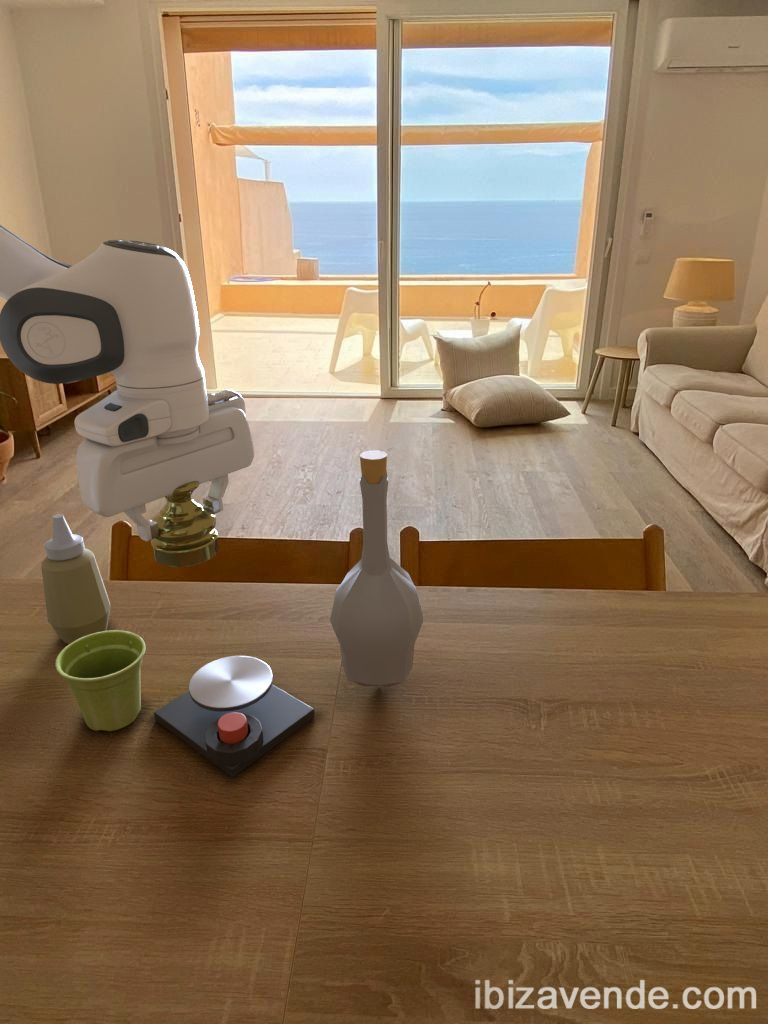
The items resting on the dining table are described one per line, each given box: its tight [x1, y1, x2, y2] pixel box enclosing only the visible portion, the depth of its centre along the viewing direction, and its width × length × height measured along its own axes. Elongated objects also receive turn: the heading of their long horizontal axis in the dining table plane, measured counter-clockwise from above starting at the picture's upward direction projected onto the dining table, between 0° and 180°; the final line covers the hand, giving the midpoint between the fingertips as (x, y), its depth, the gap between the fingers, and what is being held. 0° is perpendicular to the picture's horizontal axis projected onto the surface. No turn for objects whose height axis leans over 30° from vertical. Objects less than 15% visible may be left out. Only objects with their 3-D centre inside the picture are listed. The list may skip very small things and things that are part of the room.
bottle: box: [329, 449, 424, 688], centre depth 79 cm, size 11×11×30 cm
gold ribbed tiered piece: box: [150, 481, 220, 568], centre depth 78 cm, size 7×7×10 cm
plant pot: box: [54, 629, 147, 732], centre depth 79 cm, size 9×9×9 cm
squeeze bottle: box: [40, 513, 112, 645], centre depth 93 cm, size 8×8×18 cm
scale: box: [153, 683, 315, 778], centre depth 79 cm, size 14×12×3 cm
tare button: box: [218, 712, 248, 744], centre depth 74 cm, size 3×3×2 cm
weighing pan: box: [188, 655, 274, 712], centre depth 81 cm, size 10×10×1 cm
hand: (182, 524), depth 79 cm, fingers closed on gold ribbed tiered piece, 7 cm apart
